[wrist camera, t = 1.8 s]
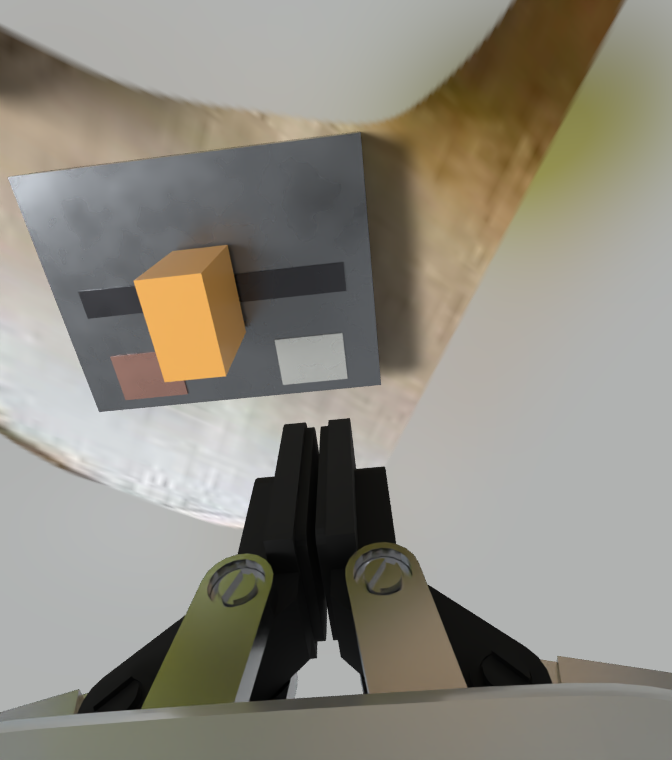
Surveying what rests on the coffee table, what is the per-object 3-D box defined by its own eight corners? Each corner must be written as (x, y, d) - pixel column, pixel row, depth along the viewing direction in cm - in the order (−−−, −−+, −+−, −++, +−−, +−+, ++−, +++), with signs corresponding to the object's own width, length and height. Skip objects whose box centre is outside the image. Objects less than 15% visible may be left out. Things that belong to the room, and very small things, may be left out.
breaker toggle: (227, 244, 26) (201, 273, 21) (245, 332, 28) (226, 376, 23) (172, 251, 26) (133, 280, 21) (195, 337, 29) (164, 382, 24)
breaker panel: (358, 131, 27) (360, 132, 24) (377, 363, 33) (381, 385, 30) (39, 171, 28) (6, 177, 25) (118, 389, 34) (98, 412, 31)
